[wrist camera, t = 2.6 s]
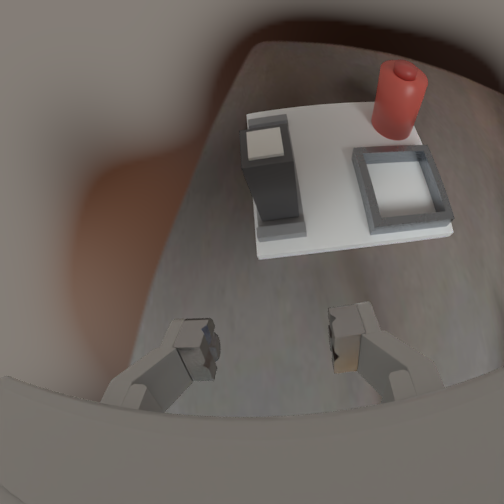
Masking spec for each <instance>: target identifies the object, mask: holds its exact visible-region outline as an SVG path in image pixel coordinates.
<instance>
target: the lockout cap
mask: <svg viewBox="0 0 504 504" xmlns="http://www.w3.org/2000/svg"><path fill="white" fill-rule="evenodd" d="M427 85H428V79H427V77H426V76H425V74H424V73H423V72H422V71H421V70H420V69H418V68H417V67H416V66H415V65H414V64H412V63H411V62H409V61H406V60H388V61H385V62H383V63H382V65H381V68H380V74H379V81H378V86H377V92H376V98H375V103H374V109H373V114H372V119H371V122H372V125H373V127H374V129H375V130H376V131H377V132H378V133H379V134H380V135H382V136H383V137H385V138H388V139H391V140H404V139H406V138H408V137H409V135H410V134H411V131H412V128H413V126H414V123H415V120H416V117H417V115H418V112H419V109H420V106H421V103H422V100H423V97H424V94H425V91H426V88H427Z"/></svg>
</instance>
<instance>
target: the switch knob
mask: <svg viewBox="0 0 504 504" xmlns="http://www.w3.org/2000/svg"><path fill="white" fill-rule="evenodd" d="M239 133H240V151H241V169H242V171H243V174H244V176H245V179H246V181H247V184H248V186H249V189H250V191H251V194H252V197H253V199H254V202H255V204H256V207H257V210H258V212H259V215H260V217H261V220H262V221H268V220H276V219H284V218H292V217H299V210H298V199H297V189H296V179H295V169H294V160H293V155H292V149H291V144H290V138H289V133H288V127H287V123H286V124H279V125H272V126H265V127H258V128H252V129H246V130H241V131H239Z"/></svg>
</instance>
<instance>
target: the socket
mask: <svg viewBox="0 0 504 504" xmlns="http://www.w3.org/2000/svg"><path fill="white" fill-rule="evenodd" d="M416 161H418V162H419V164H420V167H421V169H422V172H423V175H424V177H425V180H426V183H427V186H428V189H429V192H430V195H431V198H432V201H433V204H434V207H435V211H436V212H434V213H424V214H413V215H403V216H394V217H384V218H381V215H380V211H379V207H378V204H377V200H376V196H375V192H374V189H373V185H372V181H371V178H370V175H369V171H368V168H367V165H366V164H378V163H394V162H416ZM352 163H353V166H354V170H355V174H356V177H357V181H358V185H359V189H360V193H361V197H362V201H363V205H364V209H365V213H366V218H367V222H368V227H369V232H370V235H377V234H386V233H394V232H403V231H412V230H420V229H429V228H437V227H446V226H447V225H448V224H449V223H450V222H452V221H453V220H454V219H455V218H454V215H453V212H452V209H451V206H450V203H449V200H448V197H447V194H446V191H445V188H444V185H443V182H442V180H441V177H440V175H439V172H438V169H437V167H436V164H435V162H434V159H433V157H432V155H431V152H430V150H429V148H428V146H427V145H395V146H373V147H357V148H353V153H352Z"/></svg>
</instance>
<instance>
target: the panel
mask: <svg viewBox="0 0 504 504" xmlns="http://www.w3.org/2000/svg"><path fill="white" fill-rule="evenodd" d="M374 103H375V102H353V103H335V104H322V105H311V106H301V107H292V108H284V109H277V110H270V111H263V112H257V113H251V114H246V115H247V127H248V129H252V128H258V127H265V126H272V125H279V124H286V123H287V127H288V133H289V138H290V144H291V149H292V155H293V160H294V169H295V179H296V189H297V199H298V210H299V217H292V218H284V219H276V220H268V221H262V220H261V217H260V215H259V212H258V210H257V207H256V204H255V202H254V199H253V206H254V220H255V234H256V247H257V257H258V258H259V260H261V259H270V258H279V257H287V256H296V255H304V254H313V253H321V252H329V251H338V250H346V249H354V248H362V247H370V246H378V245H386V244H394V243H402V242H410V241H418V240H426V239H434V238H441V237H449V236H450V235H451V234H452V233H453V228H452V225H451V222H450V223H449V224H448V225H447V226H446V227H437V228H429V229H420V230H412V231H403V232H394V233H386V234H377V235H370V232H369V227H368V222H367V218H366V213H365V209H364V205H363V201H362V197H361V193H360V189H359V185H358V181H357V177H356V174H355V170H354V166H353V163H352V153H353V148H357V147H373V146H395V145H423V144H422V142H421V140H420V138H419V136H418V133H417V131H416V129H415V127H414V126H413V128H412V131H411V134H410V135H409V137H408V138H406V139H404V140H391V139H388V138H385V137H383V136H382V135H380V134H379V133H378V132H377V131H376V130H375V129H374V127H373V125H372V122H371V119H372V114H373V109H374ZM366 165H367V168H368V171H369V175H370V178H371V181H372V185H373V189H374V192H375V196H376V200H377V204H378V207H379V211H380V215H381V218H384V217H394V216H403V215H413V214H424V213H434V212H436V211H435V207H434V204H433V201H432V198H431V195H430V192H429V189H428V186H427V183H426V180H425V177H424V175H423V172H422V169H421V167H420V164H419V162H418V161H416V162H394V163H378V164H366Z"/></svg>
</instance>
